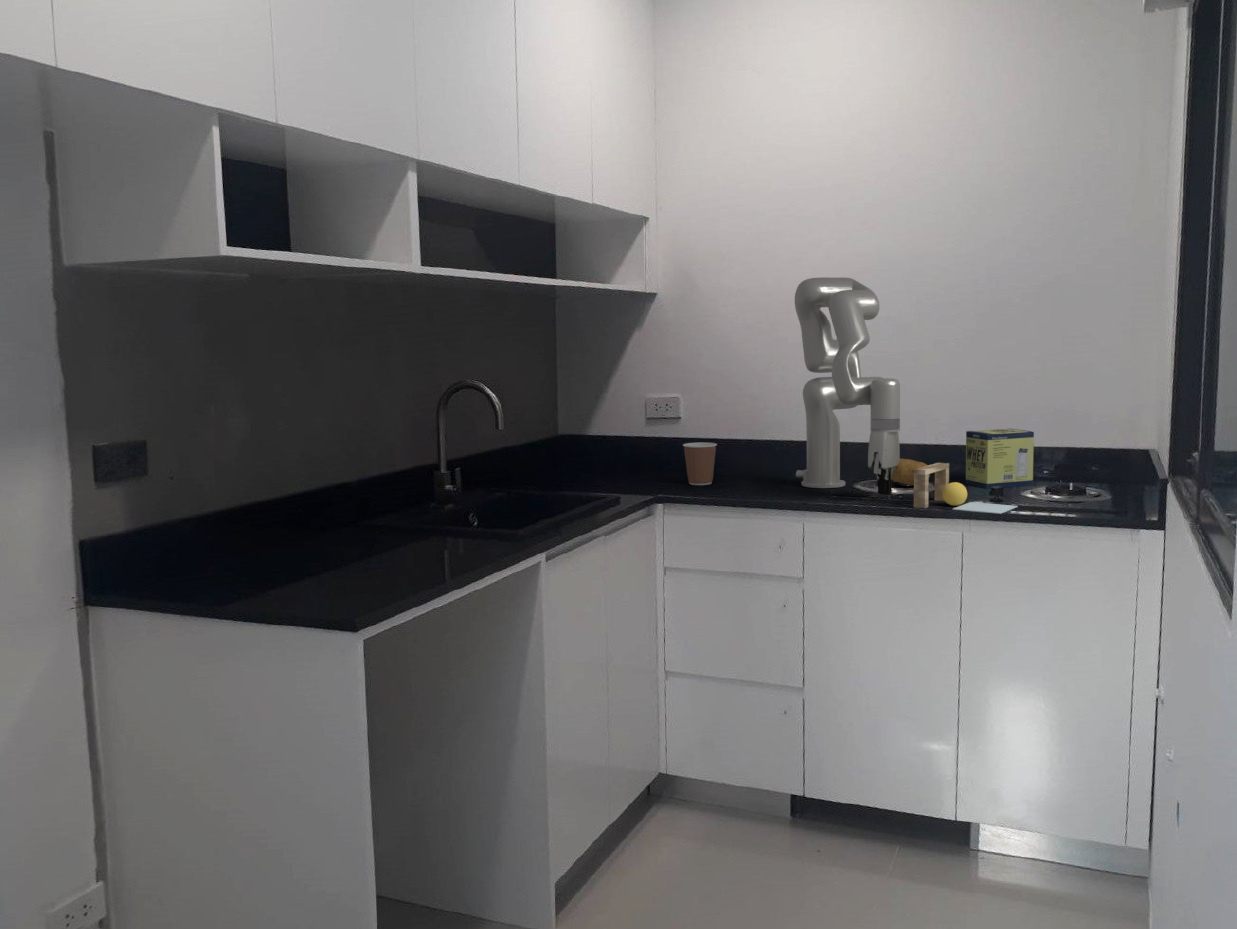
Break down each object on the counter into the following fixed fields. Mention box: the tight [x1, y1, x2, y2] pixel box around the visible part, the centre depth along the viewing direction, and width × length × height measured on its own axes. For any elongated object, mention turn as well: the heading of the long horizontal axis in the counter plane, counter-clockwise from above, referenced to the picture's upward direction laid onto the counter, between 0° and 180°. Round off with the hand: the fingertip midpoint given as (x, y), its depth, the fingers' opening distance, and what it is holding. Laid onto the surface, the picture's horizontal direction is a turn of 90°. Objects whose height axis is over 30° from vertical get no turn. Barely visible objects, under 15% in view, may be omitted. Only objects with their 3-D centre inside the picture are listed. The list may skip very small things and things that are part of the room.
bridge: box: [913, 462, 950, 509], centre depth 269 cm, size 3×15×10 cm, turn 140°
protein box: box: [965, 428, 1035, 490], centre depth 297 cm, size 10×16×16 cm
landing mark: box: [951, 501, 1018, 515], centre depth 261 cm, size 12×12×1 cm
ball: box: [943, 481, 968, 507], centre depth 265 cm, size 6×6×6 cm
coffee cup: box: [682, 442, 718, 486], centre depth 316 cm, size 10×10×12 cm
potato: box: [892, 457, 931, 485], centre depth 298 cm, size 10×14×8 cm
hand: (884, 493), depth 278 cm, fingers closed
